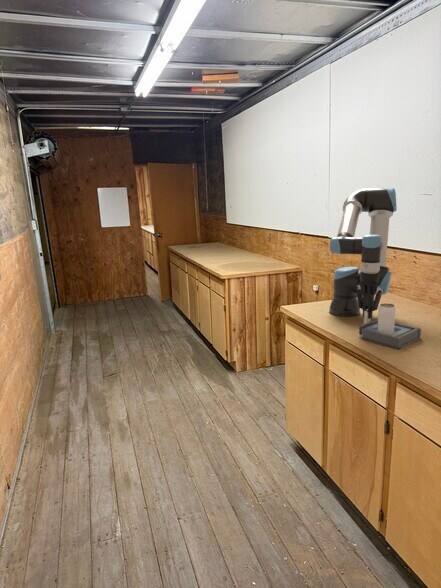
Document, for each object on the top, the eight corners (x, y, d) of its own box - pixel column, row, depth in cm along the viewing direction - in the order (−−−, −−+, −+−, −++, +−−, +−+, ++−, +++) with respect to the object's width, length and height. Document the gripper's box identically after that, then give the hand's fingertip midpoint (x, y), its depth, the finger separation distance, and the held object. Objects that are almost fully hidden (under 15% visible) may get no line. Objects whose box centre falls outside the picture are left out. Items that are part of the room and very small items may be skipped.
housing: (361, 339, 164) (362, 329, 163) (384, 329, 174) (385, 320, 173) (398, 349, 152) (399, 338, 151) (420, 338, 162) (421, 328, 161)
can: (374, 330, 168) (376, 303, 165) (390, 329, 167) (392, 302, 165) (380, 335, 161) (382, 307, 159) (396, 335, 161) (398, 307, 158)
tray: (358, 334, 167) (359, 326, 166) (377, 326, 175) (378, 318, 174) (392, 343, 155) (393, 335, 154) (411, 335, 163) (411, 326, 162)
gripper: (351, 271, 168) (348, 323, 174) (379, 275, 158) (375, 330, 163) (361, 268, 172) (358, 319, 178) (389, 272, 162) (385, 326, 168)
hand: (366, 324), depth 171 cm, fingers closed
